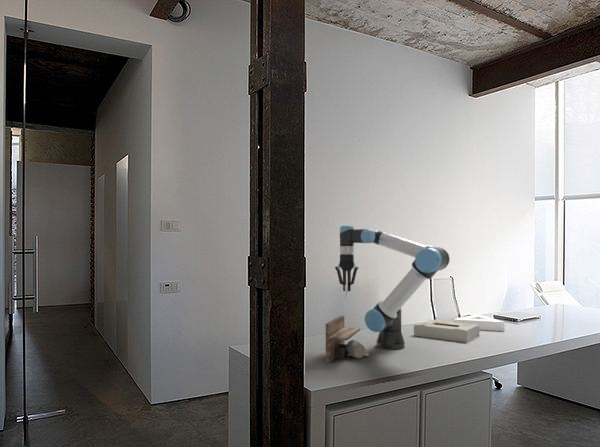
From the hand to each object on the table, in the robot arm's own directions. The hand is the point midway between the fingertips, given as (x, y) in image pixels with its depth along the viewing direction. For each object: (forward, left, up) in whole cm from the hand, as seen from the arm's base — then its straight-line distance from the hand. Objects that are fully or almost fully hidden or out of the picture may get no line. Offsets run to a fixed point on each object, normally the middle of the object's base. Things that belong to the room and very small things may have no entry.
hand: (346, 297), depth 261 cm
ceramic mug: (-11, +20, -27) cm, 35 cm away
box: (-48, -48, -27) cm, 73 cm away
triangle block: (-66, -86, -27) cm, 112 cm away
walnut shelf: (-4, +22, -26) cm, 35 cm away
